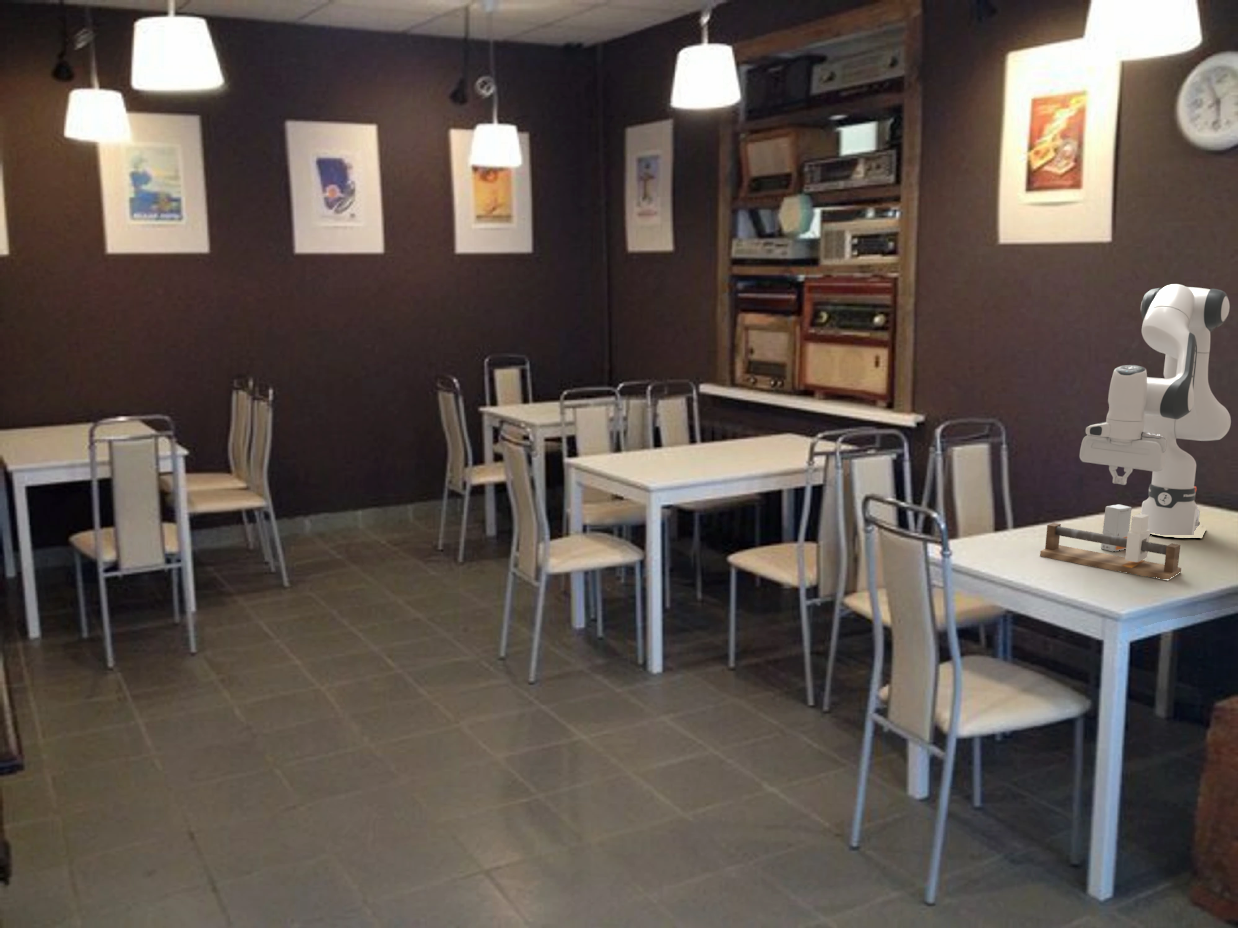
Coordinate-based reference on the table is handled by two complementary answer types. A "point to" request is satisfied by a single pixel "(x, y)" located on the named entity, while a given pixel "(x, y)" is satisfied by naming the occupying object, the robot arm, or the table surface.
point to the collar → (1137, 538)
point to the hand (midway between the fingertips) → (1119, 483)
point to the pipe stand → (1108, 560)
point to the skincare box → (1116, 524)
